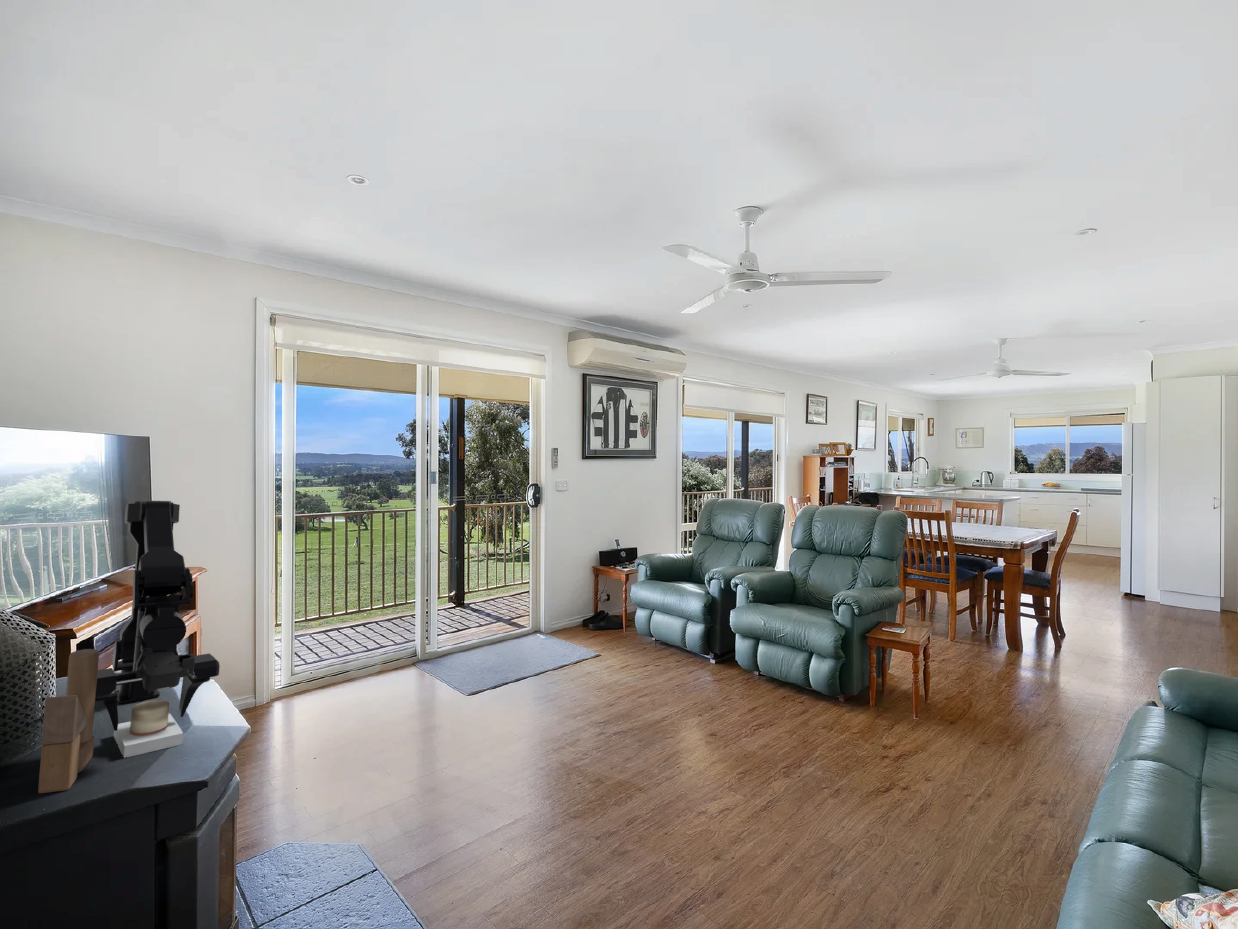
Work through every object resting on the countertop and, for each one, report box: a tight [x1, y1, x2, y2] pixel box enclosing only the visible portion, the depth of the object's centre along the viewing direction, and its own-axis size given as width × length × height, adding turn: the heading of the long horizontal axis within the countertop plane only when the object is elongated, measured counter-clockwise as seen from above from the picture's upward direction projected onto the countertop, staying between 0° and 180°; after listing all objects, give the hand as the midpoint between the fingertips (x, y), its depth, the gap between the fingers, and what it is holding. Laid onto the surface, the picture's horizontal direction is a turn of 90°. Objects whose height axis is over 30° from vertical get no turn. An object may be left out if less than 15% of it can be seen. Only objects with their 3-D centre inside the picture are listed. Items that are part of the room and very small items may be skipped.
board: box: [113, 713, 184, 759], centre depth 105 cm, size 10×8×2 cm
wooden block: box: [37, 648, 100, 794], centre depth 93 cm, size 4×11×18 cm, turn 27°
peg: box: [130, 699, 170, 736], centre depth 105 cm, size 5×5×6 cm
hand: (149, 723), depth 105 cm, fingers open, 9 cm apart
